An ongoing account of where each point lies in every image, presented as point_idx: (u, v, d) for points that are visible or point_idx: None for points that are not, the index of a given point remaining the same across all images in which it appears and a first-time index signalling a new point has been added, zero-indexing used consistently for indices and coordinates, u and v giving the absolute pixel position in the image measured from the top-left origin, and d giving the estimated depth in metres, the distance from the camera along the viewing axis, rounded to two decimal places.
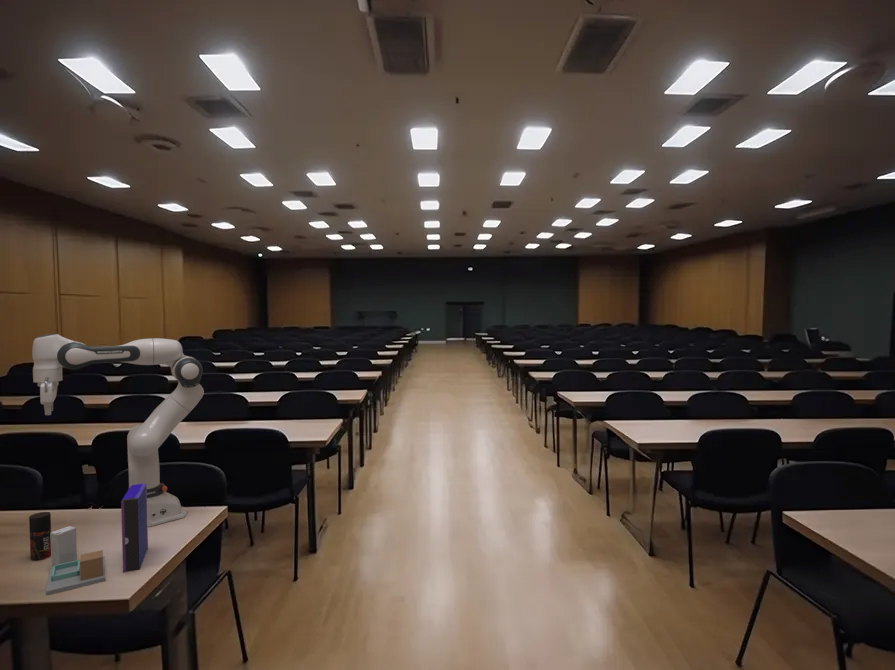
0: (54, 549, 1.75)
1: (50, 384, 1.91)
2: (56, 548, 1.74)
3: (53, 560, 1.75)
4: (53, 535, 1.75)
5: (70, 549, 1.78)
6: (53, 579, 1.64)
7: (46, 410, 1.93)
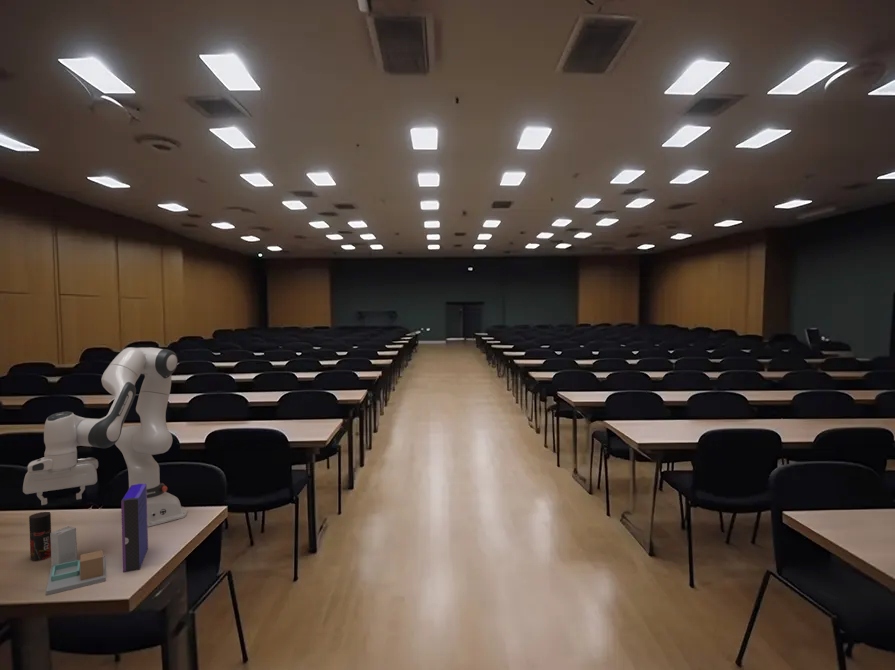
0: (54, 549, 1.75)
1: None
2: (56, 548, 1.74)
3: (53, 561, 1.75)
4: (53, 535, 1.75)
5: (70, 549, 1.78)
6: (53, 579, 1.64)
7: (81, 493, 1.79)
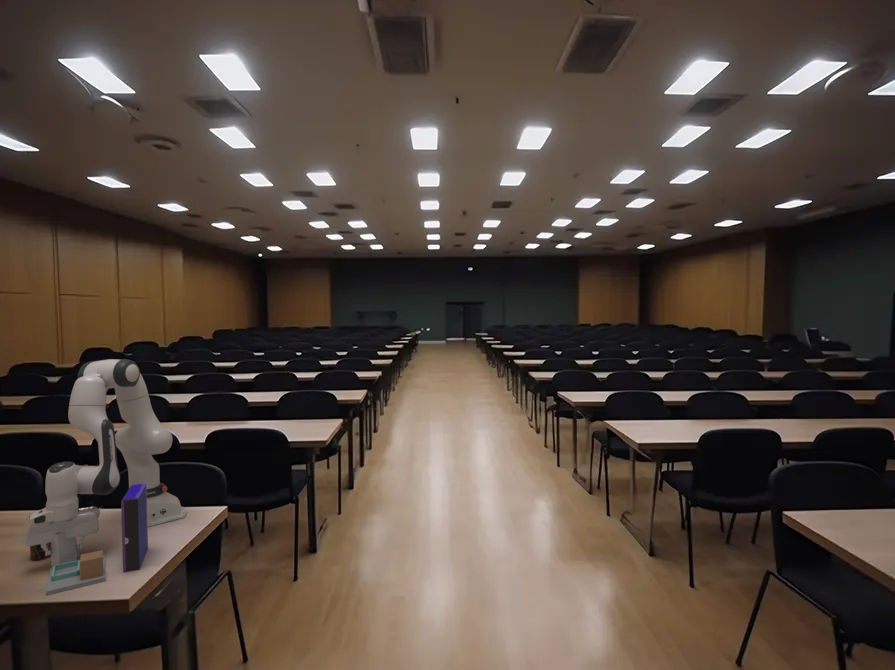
0: (54, 549, 1.75)
1: None
2: (56, 548, 1.74)
3: (53, 560, 1.75)
4: None
5: (70, 549, 1.78)
6: (53, 579, 1.64)
7: None
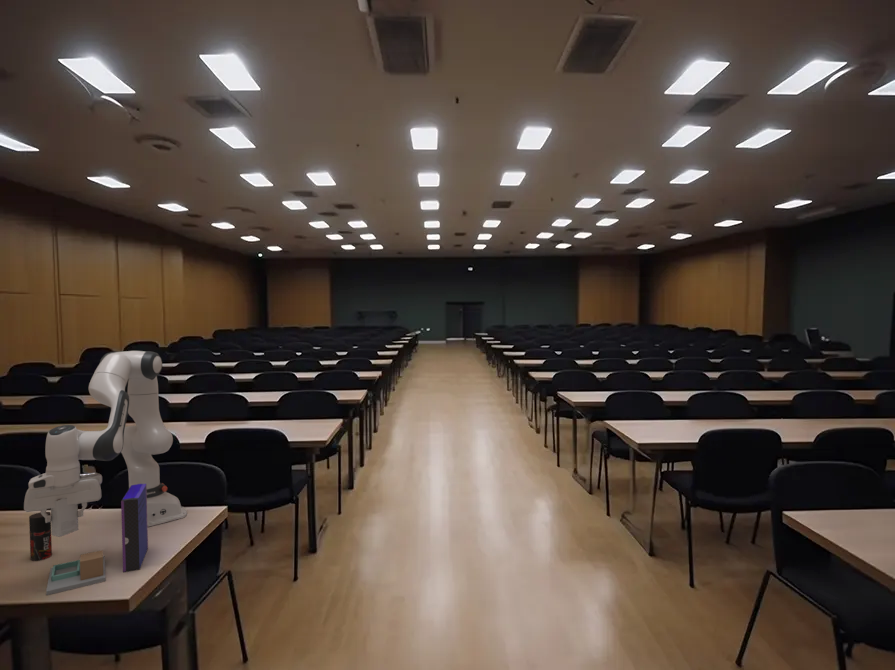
0: (55, 516, 1.66)
1: None
2: (57, 515, 1.66)
3: (53, 528, 1.67)
4: None
5: (71, 517, 1.69)
6: (53, 579, 1.64)
7: None
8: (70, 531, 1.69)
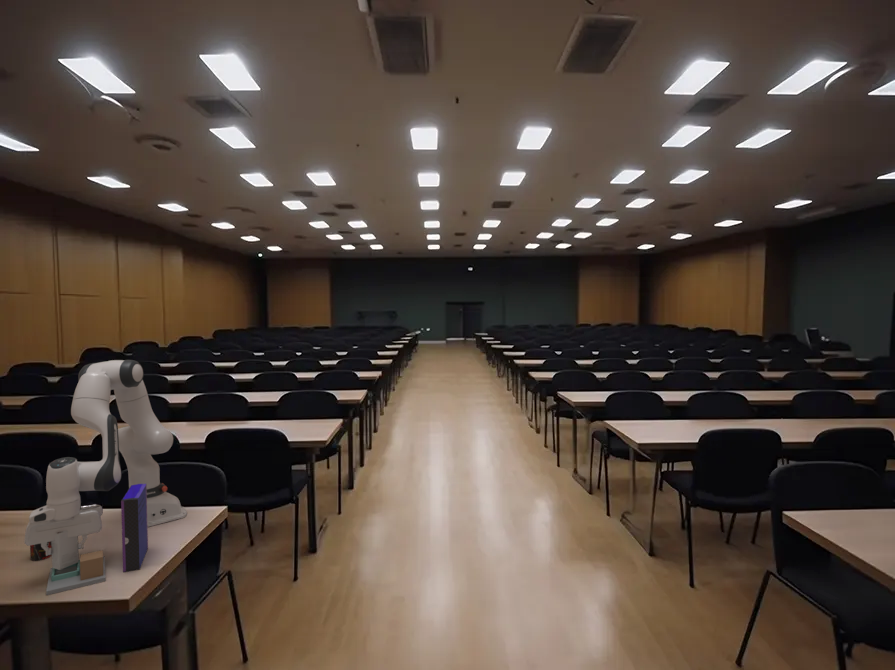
0: (55, 549, 1.67)
1: None
2: (57, 548, 1.66)
3: (54, 561, 1.67)
4: None
5: (72, 549, 1.70)
6: (53, 579, 1.64)
7: None
8: (70, 563, 1.69)
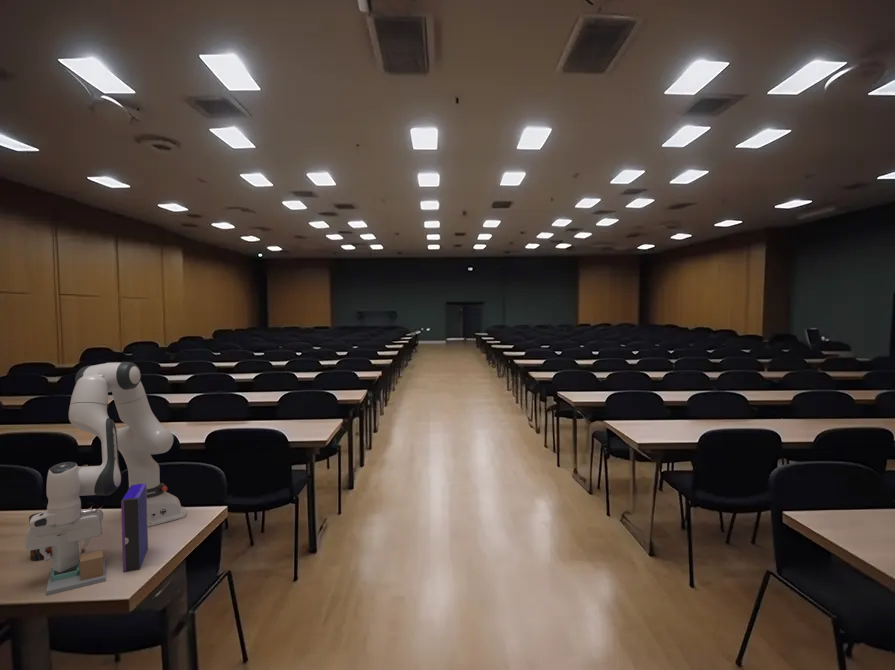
0: (55, 551, 1.67)
1: None
2: (57, 550, 1.66)
3: (54, 563, 1.68)
4: None
5: (72, 551, 1.70)
6: (53, 579, 1.64)
7: None
8: (71, 566, 1.70)
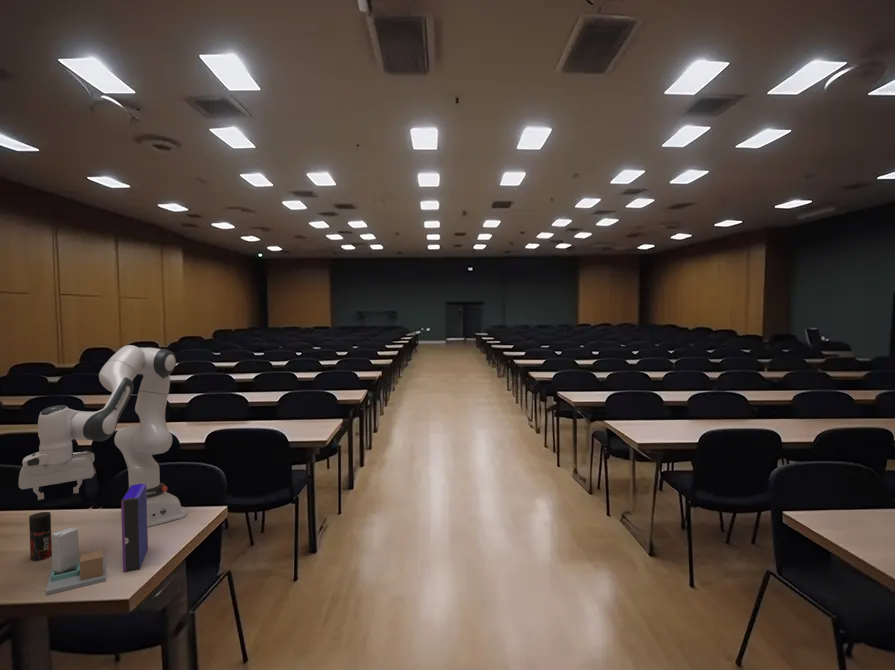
0: (56, 551, 1.67)
1: None
2: (57, 550, 1.66)
3: (54, 563, 1.68)
4: (54, 537, 1.67)
5: (72, 551, 1.70)
6: (53, 579, 1.64)
7: None
8: (71, 566, 1.70)
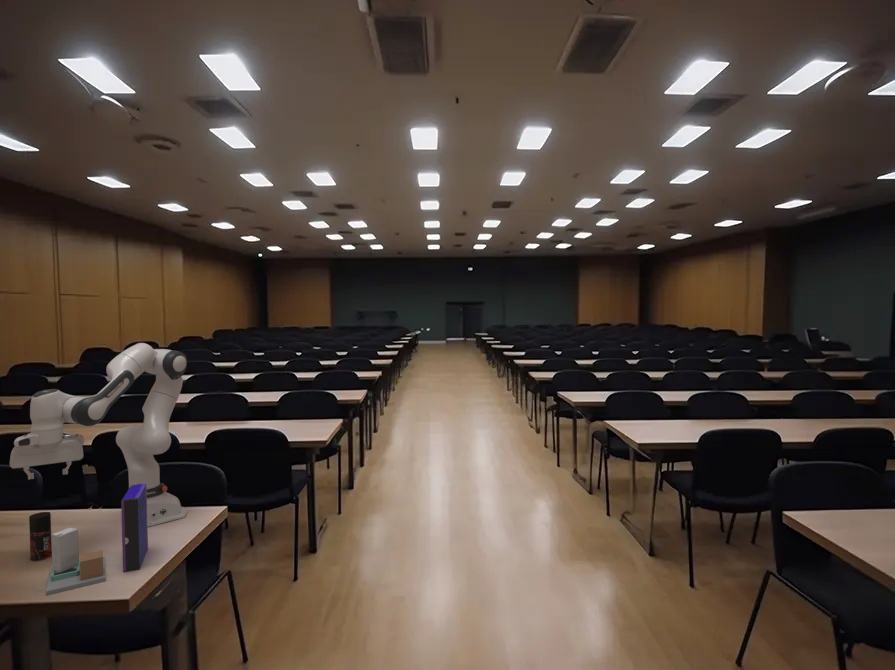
0: (55, 551, 1.67)
1: None
2: (57, 550, 1.66)
3: (54, 563, 1.68)
4: (54, 537, 1.67)
5: (72, 551, 1.70)
6: (53, 579, 1.64)
7: (68, 468, 1.84)
8: (71, 566, 1.70)
